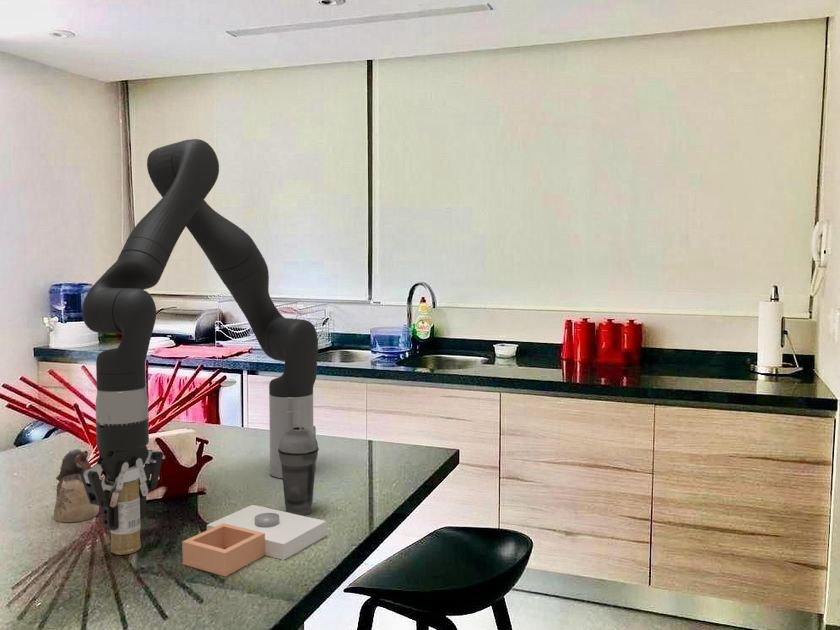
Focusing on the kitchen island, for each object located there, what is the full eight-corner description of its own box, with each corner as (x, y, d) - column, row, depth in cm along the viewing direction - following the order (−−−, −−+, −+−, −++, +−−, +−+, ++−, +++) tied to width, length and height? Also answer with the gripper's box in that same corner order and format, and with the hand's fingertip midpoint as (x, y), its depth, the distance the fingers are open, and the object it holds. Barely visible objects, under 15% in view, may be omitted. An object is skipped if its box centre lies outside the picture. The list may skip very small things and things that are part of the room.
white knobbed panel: (252, 518, 126) (252, 499, 126) (326, 535, 118) (326, 515, 118) (165, 559, 109) (164, 536, 109) (244, 582, 101) (244, 558, 101)
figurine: (80, 506, 131) (79, 442, 131) (108, 512, 128) (106, 447, 127) (45, 518, 125) (43, 451, 124) (73, 525, 122) (71, 457, 121)
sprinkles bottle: (133, 541, 115) (131, 460, 114) (146, 550, 112) (144, 466, 111) (105, 550, 112) (102, 466, 111) (117, 558, 109) (115, 472, 108)
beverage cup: (303, 502, 135) (303, 397, 133) (327, 512, 129) (326, 403, 128) (270, 511, 130) (269, 403, 128) (293, 522, 124) (292, 409, 123)
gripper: (143, 405, 118) (145, 506, 120) (64, 423, 106) (68, 534, 107) (175, 410, 115) (177, 513, 116) (98, 429, 102) (101, 544, 104)
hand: (125, 523), depth 112 cm, fingers closed on sprinkles bottle, 4 cm apart
